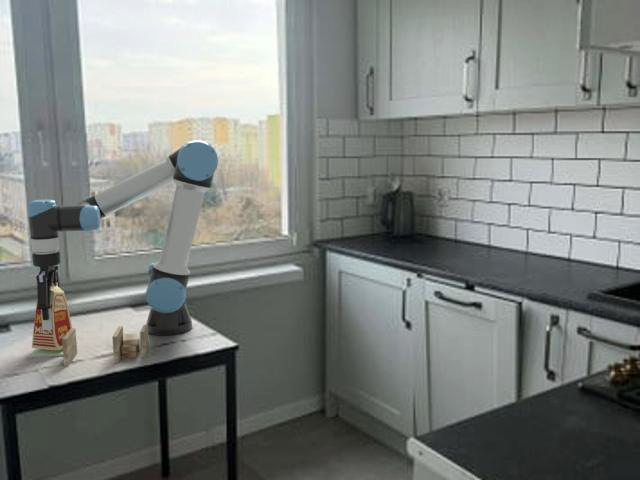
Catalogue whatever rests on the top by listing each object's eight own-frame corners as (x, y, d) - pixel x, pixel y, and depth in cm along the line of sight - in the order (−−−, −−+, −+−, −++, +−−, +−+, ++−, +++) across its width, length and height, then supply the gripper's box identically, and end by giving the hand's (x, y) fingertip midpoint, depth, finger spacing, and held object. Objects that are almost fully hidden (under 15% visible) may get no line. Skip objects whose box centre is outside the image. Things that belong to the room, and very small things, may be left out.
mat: (77, 343, 189) (77, 341, 189) (68, 355, 179) (68, 353, 179) (40, 345, 188) (40, 343, 188) (29, 357, 177) (29, 355, 177)
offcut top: (137, 339, 182) (137, 332, 182) (138, 345, 177) (137, 339, 176) (123, 340, 181) (123, 334, 181) (123, 347, 175) (123, 340, 175)
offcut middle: (139, 345, 183) (138, 339, 182) (135, 352, 177) (135, 346, 176) (125, 346, 182) (125, 339, 182) (121, 353, 176) (121, 346, 176)
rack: (148, 349, 184) (147, 324, 182) (144, 361, 174) (142, 335, 172) (73, 353, 180) (71, 328, 179) (64, 366, 171) (62, 339, 169)
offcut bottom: (139, 351, 183) (139, 345, 183) (136, 358, 177) (135, 352, 177) (126, 352, 182) (126, 346, 182) (122, 359, 177) (121, 353, 176)
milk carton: (58, 350, 178) (53, 284, 175) (30, 348, 180) (25, 283, 176) (76, 340, 187) (72, 278, 183) (49, 338, 188) (45, 276, 185)
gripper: (43, 245, 188) (49, 315, 192) (20, 259, 167) (27, 337, 171) (68, 245, 189) (73, 314, 193) (48, 258, 168) (55, 335, 172)
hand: (52, 324), depth 182 cm, fingers closed on milk carton, 8 cm apart
